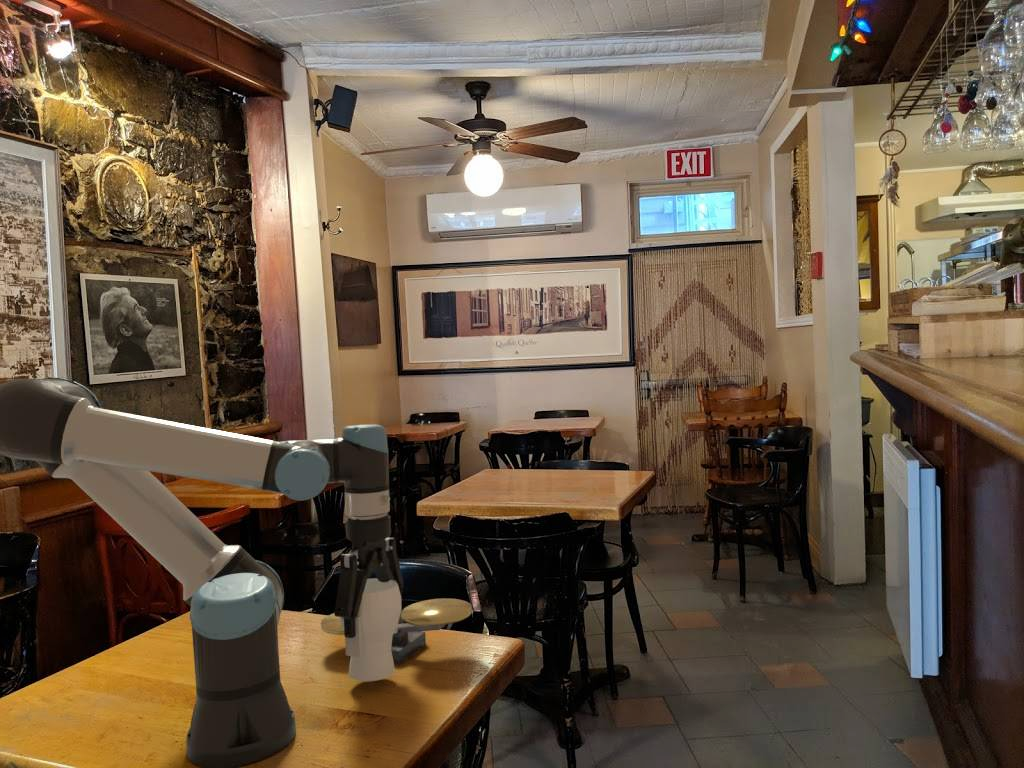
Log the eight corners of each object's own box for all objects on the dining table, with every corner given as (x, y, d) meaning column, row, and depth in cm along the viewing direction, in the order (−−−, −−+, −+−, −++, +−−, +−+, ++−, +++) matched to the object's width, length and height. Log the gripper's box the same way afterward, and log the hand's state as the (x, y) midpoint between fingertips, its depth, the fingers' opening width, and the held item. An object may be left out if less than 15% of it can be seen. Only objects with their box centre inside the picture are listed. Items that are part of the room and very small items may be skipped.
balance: (455, 674, 128) (451, 603, 128) (308, 657, 140) (304, 593, 140) (485, 646, 140) (481, 582, 140) (347, 633, 152) (344, 573, 152)
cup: (396, 685, 121) (394, 593, 121) (332, 685, 121) (330, 594, 121) (408, 661, 131) (406, 577, 131) (349, 662, 132) (347, 578, 132)
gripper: (347, 530, 114) (353, 672, 114) (420, 503, 135) (424, 623, 136) (307, 528, 117) (313, 666, 117) (384, 502, 138) (389, 619, 138)
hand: (372, 643), depth 126 cm, fingers closed on cup, 11 cm apart
